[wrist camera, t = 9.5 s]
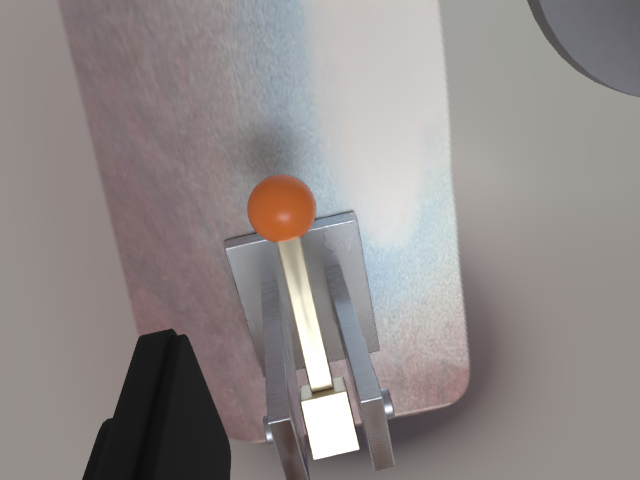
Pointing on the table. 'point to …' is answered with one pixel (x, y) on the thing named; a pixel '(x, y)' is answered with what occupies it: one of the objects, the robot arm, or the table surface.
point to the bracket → (336, 325)
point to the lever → (304, 312)
